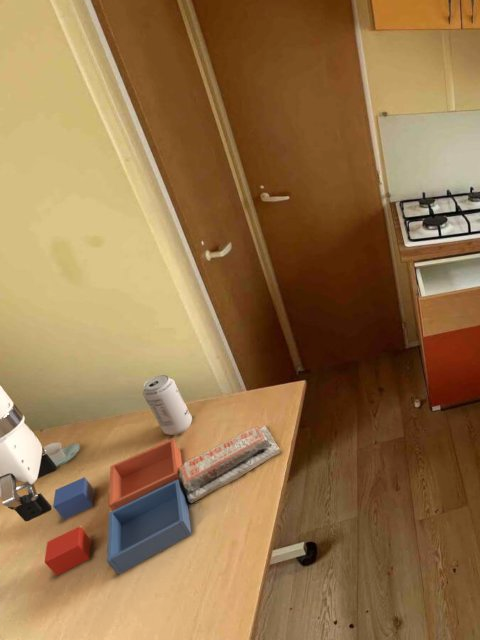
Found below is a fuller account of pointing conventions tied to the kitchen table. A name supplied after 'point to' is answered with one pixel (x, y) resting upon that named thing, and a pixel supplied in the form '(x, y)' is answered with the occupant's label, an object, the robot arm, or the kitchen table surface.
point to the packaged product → (227, 462)
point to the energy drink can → (167, 404)
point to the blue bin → (147, 526)
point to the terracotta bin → (144, 473)
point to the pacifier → (61, 452)
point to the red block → (67, 550)
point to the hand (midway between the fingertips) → (42, 493)
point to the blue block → (73, 498)
